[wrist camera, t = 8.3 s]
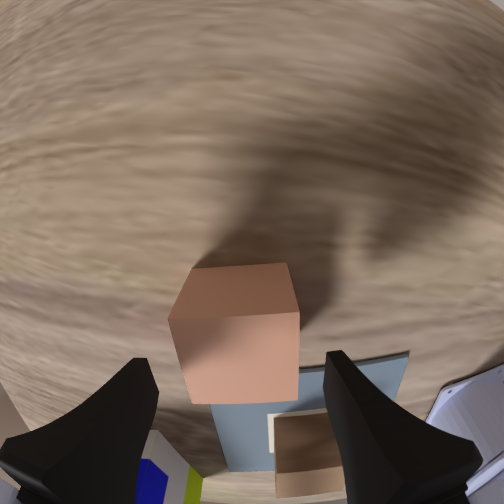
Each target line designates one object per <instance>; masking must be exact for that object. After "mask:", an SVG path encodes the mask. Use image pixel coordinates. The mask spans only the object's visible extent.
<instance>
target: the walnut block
mask: <svg viewBox="0 0 504 504" xmlns="http://www.w3.org/2000/svg"><path fill="white" fill-rule="evenodd" d="M274 462H275V482H276V498H287V497H298V496H308V495H316V494H323V493H329V492H335V491H341V490H342V488H343V486H344V484H345V478H344V472H343V466H342V460H341V456H340V452H339V448H338V445H337V442H336V438H335V435H334V432H333V429H332V425H331V422H330V419H329V416H328V413H320V414H311V415H301V416H290V417H275V418H274Z"/></svg>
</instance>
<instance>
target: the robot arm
mask: <svg viewBox="0 0 504 504" xmlns="http://www.w3.org/2000/svg"><path fill="white" fill-rule="evenodd" d="M323 392H324V398H325V404H326V409H327V412H328V416H329V419H330V422H331V425H332V429H333V432H334V435H335V438H336V442H337V445H338V448H339V452H340V456H341V460H342V466H343V472H344V478H345V486H346V493H347V502H348V504H504V364H503V365H500V366H498V367H496V368H494V369H491V370H489V371H486V372H484V373H482V374H479V375H477V376H474V377H471V378H469V379H466V380H463V381H461V382H458V383H455V384H452V385H449V386H446V387H444V388H443V389H442V390H441V391H440V393H439V395H438V397H437V400H436V402H435V404H434V406H433V408H432V410H431V412H430V414H429V415H428V417H427V419H426V421H423V420H421V419H419V418H417V417H416V416H414V415H412V414H411V413H409V412H408V411H406V410H405V409H403V408H402V407H400V406H399V405H398V404H396V403H395V402H394V401H393V400H391V399H390V398H389V397H388V396H387V395H385V394H384V393H383V392H382V391H381V390H380V389H379V388H377V387H376V386H375V385H374V384H373V383H372V382H371V381H370V380H369V379H368V378H367V377H366V376H365V375H364V374H363V373H362V372H361V371H360V370H359V368H358V367H357V366H356V365H355V364H354V363H353V362H352V361H351V360H350V359H349V357H348V356H347V355H346V354H345V353H344V352H343V351H342V350H338V351H330V352H327V353H326V362H325V372H324V380H323ZM158 396H159V390H158V388H157V385H156V382H155V380H154V377H153V374H152V372H151V369H150V366H149V363H148V360H147V358H133V359H132V360H130V361H129V362H128V363H127V364H126V365H125V366H124V367H123V368H122V369H121V370H120V371H119V372H117V373H116V374H115V375H114V376H113V377H112V378H111V379H110V380H109V381H108V382H107V383H106V384H104V385H103V386H102V387H101V388H100V389H99V390H98V391H96V392H95V393H94V394H93V395H92V396H90V397H89V398H88V399H87V400H85V401H84V402H83V403H82V404H80V405H79V406H77V407H76V408H74V409H73V410H71V411H70V412H68V413H67V414H65V415H64V416H62V417H60V418H58V419H56V420H54V421H53V422H51V423H49V424H47V425H45V426H43V427H40V428H38V429H35V430H33V431H30V432H28V433H25V434H21V435H18V436H15V437H11V438H7V439H6V440H5V442H4V444H3V445H2V447H1V449H0V467H1V468H2V469H3V470H4V471H5V472H6V473H7V474H8V475H9V476H10V477H11V478H13V479H14V480H15V481H16V482H17V483H18V484H19V485H21V488H20V490H18V489H17V488H15V487H13V486H12V485H11V484H9V483H7V482H6V481H4V480H3V479H1V478H0V504H135V497H136V487H137V479H138V473H139V467H140V461H141V457H142V453H143V450H144V447H145V444H146V441H147V438H148V435H149V432H150V428H151V425H152V422H153V419H154V416H155V413H156V408H157V403H158Z"/></svg>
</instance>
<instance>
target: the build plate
mask: <svg viewBox="0 0 504 504" xmlns="http://www.w3.org/2000/svg"><path fill="white" fill-rule="evenodd" d="M408 358H409V356H408V355H407V353H406V354H401V355H396V356H391V357H386V358H380V359H375V360H369V361H363V362H356V363H354V364H355V365H356V366H357V367H358V368H359V370H360V371H361V372H362V373H363V374H364V375H365V376H366V377H367V378H368V379H369V380H370V381H371V382H372V383H373V384H374V385H375V386H376V387H377V388H379V389H380V390H381V391H382V392H383V393H384V394H385V395H387V396H388V397H389V398H390V399H391V400H393V401H394V400H395V397H396V394H397V392H398V389H399V386H400V383H401V380H402V377H403V374H404V371H405V368H406V364H407V361H408ZM324 372H325V367H319V368H309V369H299V381H298V400H295V401H283V402H269V403H249V404H210V408H211V411H212V415H213V419H214V422H215V426H216V430H217V433H218V437H219V440H220V443H221V447H222V450H223V453H224V457H225V460H226V463H227V466H228V469H229V472H252V471H275V462H274V418H275V417H290V416H301V415H311V414H320V413H328V412H327V409H326V404H325V398H324V392H323V380H324Z"/></svg>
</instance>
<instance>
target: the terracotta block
mask: <svg viewBox="0 0 504 504" xmlns="http://www.w3.org/2000/svg"><path fill="white" fill-rule="evenodd" d="M168 322H169V326H170V329H171V333H172V337H173V341H174V345H175V348H176V352H177V355H178V359H179V362H180V366H181V369H182V373H183V376H184V379H185V382H186V386H187V389H188V392H189V395H190V398H191V401H192V404H249V403H269V402H283V401H295V400H298V381H299V336H300V311H299V307H298V304H297V300H296V296H295V292H294V288H293V285H292V281H291V277H290V273H289V270H288V266H287V262H284V263H270V264H256V265H241V266H226V267H210V268H194V269H191V271H190V273H189V275H188V277H187V279H186V281H185V283H184V285H183V287H182V290H181V292H180V294H179V296H178V298H177V300H176V302H175V304H174V306H173V308H172V310H171V313H170V315H169V317H168Z"/></svg>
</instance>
